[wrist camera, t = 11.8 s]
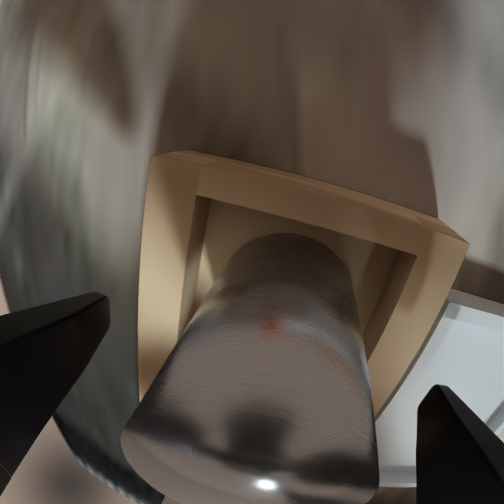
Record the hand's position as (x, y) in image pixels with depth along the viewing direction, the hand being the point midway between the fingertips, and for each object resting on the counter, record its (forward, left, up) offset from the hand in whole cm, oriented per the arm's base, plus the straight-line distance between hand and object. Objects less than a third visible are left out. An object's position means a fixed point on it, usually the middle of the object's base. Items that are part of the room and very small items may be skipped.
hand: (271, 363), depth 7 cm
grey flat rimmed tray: (-5, -10, -5) cm, 12 cm away
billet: (0, 0, -4) cm, 4 cm away
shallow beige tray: (-5, 0, -5) cm, 7 cm away
